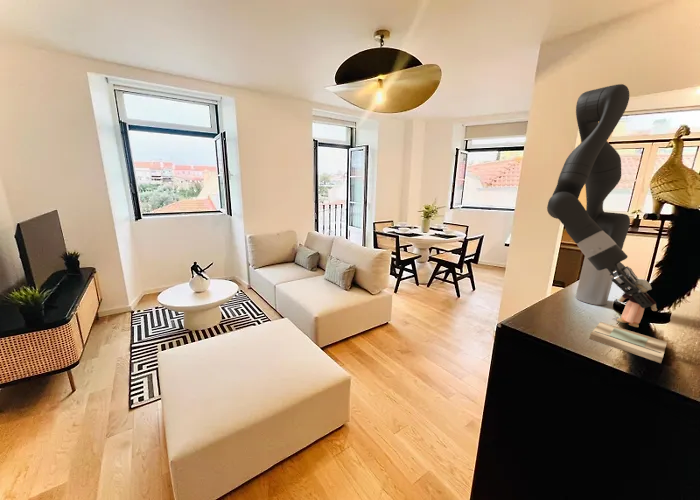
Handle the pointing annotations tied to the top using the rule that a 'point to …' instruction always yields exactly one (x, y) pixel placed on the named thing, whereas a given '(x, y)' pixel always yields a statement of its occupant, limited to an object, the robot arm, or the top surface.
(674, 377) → the top surface
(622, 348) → the oak board
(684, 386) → the top surface
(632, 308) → the grandmother figurine
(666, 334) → the top surface
